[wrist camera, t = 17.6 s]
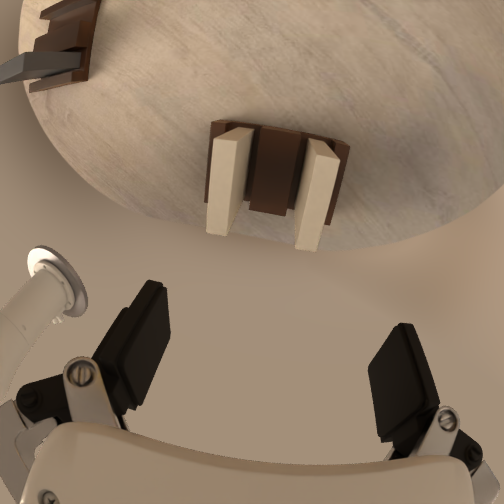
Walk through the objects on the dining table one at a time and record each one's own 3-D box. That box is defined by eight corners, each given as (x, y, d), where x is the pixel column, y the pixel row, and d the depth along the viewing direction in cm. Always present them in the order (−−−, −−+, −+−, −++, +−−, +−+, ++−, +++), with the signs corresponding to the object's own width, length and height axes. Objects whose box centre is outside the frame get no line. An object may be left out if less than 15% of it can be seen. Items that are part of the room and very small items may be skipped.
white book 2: (324, 141, 27) (340, 159, 18) (309, 208, 31) (315, 252, 22) (307, 137, 27) (316, 154, 18) (294, 205, 31) (294, 248, 22)
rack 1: (87, 80, 26) (71, 81, 23) (44, 90, 26) (28, 93, 23) (102, -6, 18) (87, -11, 15) (56, 12, 19) (41, 11, 16)
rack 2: (326, 213, 32) (329, 225, 29) (212, 192, 32) (204, 202, 30) (343, 141, 27) (350, 146, 24) (219, 119, 28) (211, 121, 25)
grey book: (79, 68, 24) (22, 71, 15) (44, 77, 24) (-8, 86, 15) (81, 52, 23) (25, 51, 14) (46, 63, 23) (-6, 69, 14)
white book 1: (245, 196, 31) (226, 237, 23) (229, 194, 31) (205, 233, 23) (254, 128, 27) (237, 141, 18) (238, 126, 27) (213, 138, 19)
